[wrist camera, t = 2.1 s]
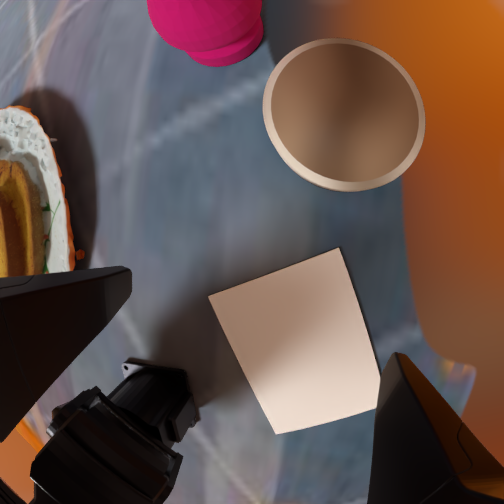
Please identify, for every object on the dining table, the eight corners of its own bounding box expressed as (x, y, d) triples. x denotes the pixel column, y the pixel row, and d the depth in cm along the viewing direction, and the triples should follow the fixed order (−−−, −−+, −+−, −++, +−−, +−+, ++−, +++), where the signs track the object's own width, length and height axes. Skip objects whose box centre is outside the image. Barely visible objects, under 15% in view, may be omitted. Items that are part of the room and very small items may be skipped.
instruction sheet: (276, 432, 24) (276, 434, 24) (208, 295, 23) (207, 296, 22) (386, 402, 21) (386, 403, 21) (338, 247, 20) (339, 247, 20)
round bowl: (273, 194, 20) (267, 193, 17) (264, 60, 19) (257, 41, 16) (416, 192, 19) (432, 191, 16) (399, 60, 17) (411, 42, 14)
